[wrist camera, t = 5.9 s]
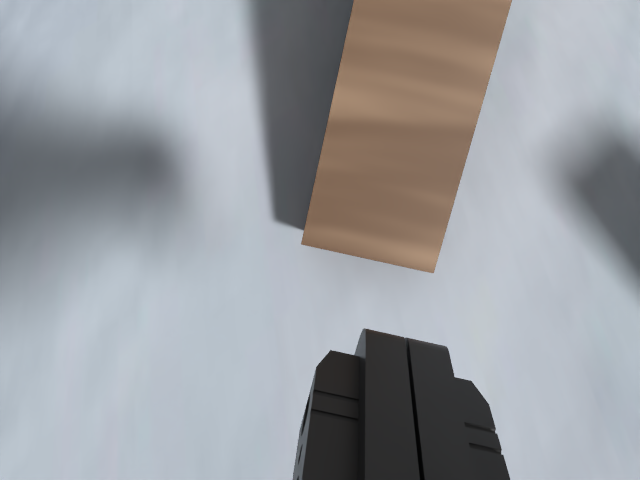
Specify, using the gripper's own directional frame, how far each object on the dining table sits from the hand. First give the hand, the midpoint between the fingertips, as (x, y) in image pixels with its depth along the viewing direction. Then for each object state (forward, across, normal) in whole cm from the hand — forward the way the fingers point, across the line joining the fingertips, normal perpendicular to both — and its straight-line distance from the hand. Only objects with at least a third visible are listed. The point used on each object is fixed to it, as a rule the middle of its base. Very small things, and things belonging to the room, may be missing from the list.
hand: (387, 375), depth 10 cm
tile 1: (+11, 0, +3) cm, 11 cm away
